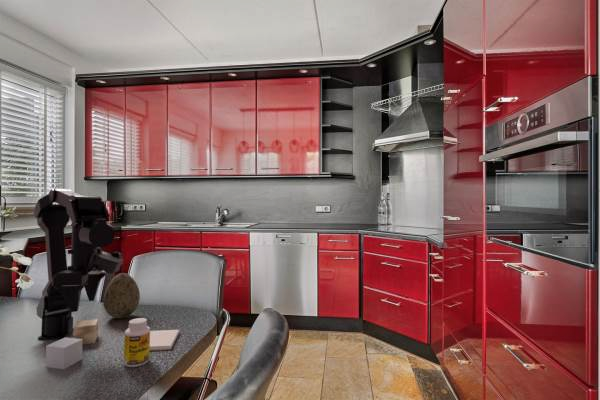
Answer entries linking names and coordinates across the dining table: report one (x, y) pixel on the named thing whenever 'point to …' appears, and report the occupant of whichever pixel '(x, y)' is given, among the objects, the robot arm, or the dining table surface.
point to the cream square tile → (162, 339)
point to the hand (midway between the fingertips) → (83, 305)
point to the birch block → (86, 331)
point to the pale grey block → (63, 353)
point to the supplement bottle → (137, 343)
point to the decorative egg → (121, 296)
